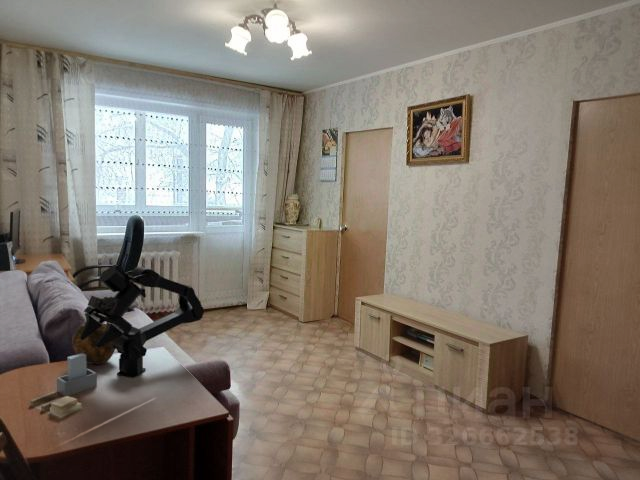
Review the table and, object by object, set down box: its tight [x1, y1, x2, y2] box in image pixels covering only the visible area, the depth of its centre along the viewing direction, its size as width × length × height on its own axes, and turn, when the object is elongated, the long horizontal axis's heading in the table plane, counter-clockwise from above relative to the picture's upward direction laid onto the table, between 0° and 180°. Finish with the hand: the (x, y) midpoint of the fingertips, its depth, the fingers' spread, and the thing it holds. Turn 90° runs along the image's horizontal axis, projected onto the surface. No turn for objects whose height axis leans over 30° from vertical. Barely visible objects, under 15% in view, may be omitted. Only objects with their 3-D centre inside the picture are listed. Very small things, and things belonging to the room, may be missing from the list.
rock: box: [71, 322, 116, 365], centre depth 156 cm, size 13×13×15 cm
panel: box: [66, 353, 87, 381], centre depth 136 cm, size 4×2×10 cm, turn 144°
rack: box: [28, 390, 85, 420], centre depth 126 cm, size 7×14×3 cm, turn 62°
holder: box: [56, 368, 98, 397], centre depth 137 cm, size 9×5×5 cm, turn 144°
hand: (88, 343), depth 138 cm, fingers open, 9 cm apart
